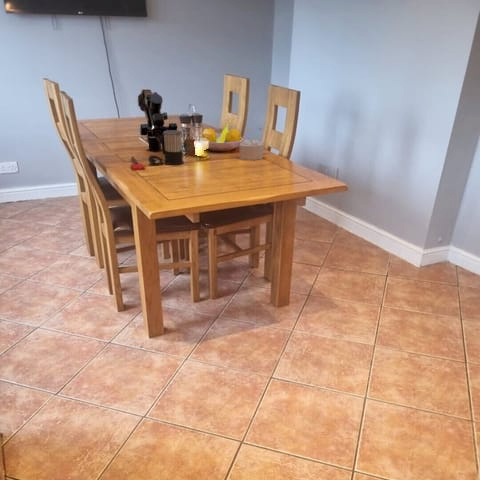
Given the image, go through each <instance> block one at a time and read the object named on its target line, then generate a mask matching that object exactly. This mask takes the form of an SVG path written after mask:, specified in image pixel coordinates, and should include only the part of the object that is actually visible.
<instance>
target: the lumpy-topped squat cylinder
mask: <svg viewBox="0 0 480 480" xmlns="http://www.w3.org/2000/svg"><path fill="white" fill-rule="evenodd" d="M238 148H239V149H238V151H239V152H238V154H239V156H238V159H239V160H243V161H257V160H261V159H264V151H265V150H264V149H265V145H264V143H263V142H261V140H258V139H252V140H250V139H249V138H246V139H243V141H242V143H240V146H239V147H238Z"/></svg>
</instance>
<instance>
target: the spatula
mask: <svg viewBox="0 0 480 480" xmlns="http://www.w3.org/2000/svg"><path fill="white" fill-rule="evenodd" d="M131 161H132V162H133V163H132V164H130V166H131V169H132V170H133V171H141V170H142V171H144V170H146V168H145V165H143V163H138V162H137V160H136V158H135V157H134V156H131Z"/></svg>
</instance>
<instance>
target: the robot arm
mask: <svg viewBox="0 0 480 480" xmlns="http://www.w3.org/2000/svg"><path fill="white" fill-rule="evenodd" d="M163 103H164V102H163V97H162V96H161V95H160V94H158V92H157V91H155V92H154V91H153V92H152V89H141V92H140V94H138V96H137V107H139V109H140V111H141V112H143V113H144V117H145V119H146V122H147V123H141V124H140V125H139V133H140V136H145V137H146V138H145V139H146V140H148V149H147V151H149V152H154V153H157V152H162V142H161V136H162V134H163V132H164V131H169V130H175V131H178V124H177V123H176V122H169V123H168V125H165V121H167V120H168V118H169V117H168V112H162V111H161V110H162V105H163Z"/></svg>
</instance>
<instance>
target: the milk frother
mask: <svg viewBox="0 0 480 480" xmlns="http://www.w3.org/2000/svg"><path fill="white" fill-rule="evenodd" d="M161 142H162V144H161V149H162V151H161V152H162V155H163V156H164V159H163V158H161V157H160V156H157V155H153V154H152V155H149V156H148V158H147V159H148V162H149V163H150V164H152V165H154V166H156V165H157V166H158V165H159V166H160V165H162V164H163V162H164V164H167V165H170V166H179V165H182V164H183V163H184V160H183V132H182V131H181V130H177V131H175V130H169V131H168V130H167V131H164V132H163V134H162V136H161ZM157 161H159V162H157Z"/></svg>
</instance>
